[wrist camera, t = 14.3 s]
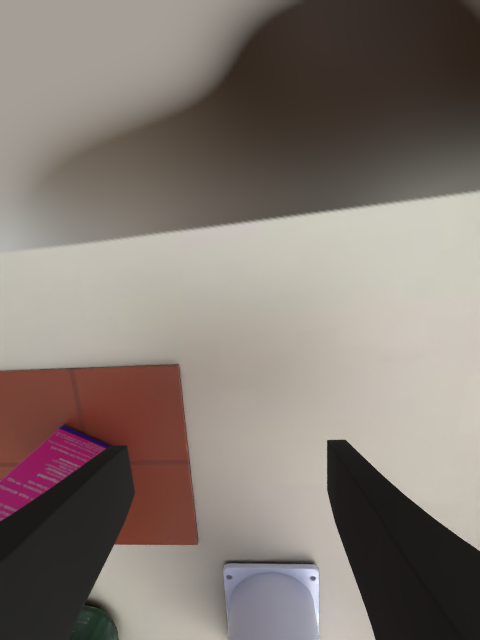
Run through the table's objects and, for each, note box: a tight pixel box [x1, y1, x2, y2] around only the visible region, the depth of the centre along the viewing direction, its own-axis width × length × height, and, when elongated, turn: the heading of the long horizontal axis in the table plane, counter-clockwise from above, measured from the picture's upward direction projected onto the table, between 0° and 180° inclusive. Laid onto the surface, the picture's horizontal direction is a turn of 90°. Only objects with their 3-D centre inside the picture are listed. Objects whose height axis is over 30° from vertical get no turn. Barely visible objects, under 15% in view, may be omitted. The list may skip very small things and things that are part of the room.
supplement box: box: [0, 425, 110, 521], centre depth 17 cm, size 6×6×12 cm
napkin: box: [0, 365, 198, 545], centre depth 22 cm, size 16×16×1 cm
